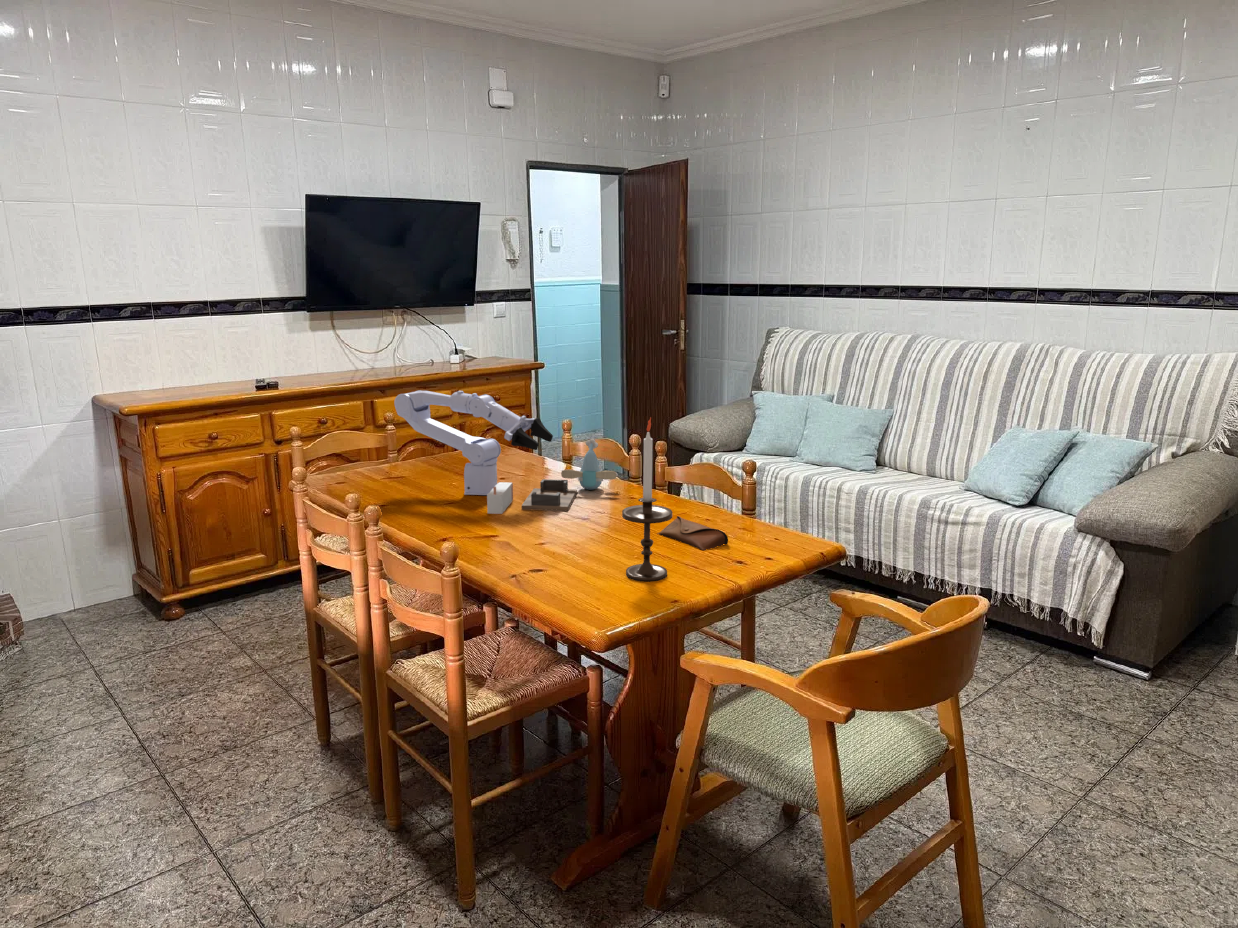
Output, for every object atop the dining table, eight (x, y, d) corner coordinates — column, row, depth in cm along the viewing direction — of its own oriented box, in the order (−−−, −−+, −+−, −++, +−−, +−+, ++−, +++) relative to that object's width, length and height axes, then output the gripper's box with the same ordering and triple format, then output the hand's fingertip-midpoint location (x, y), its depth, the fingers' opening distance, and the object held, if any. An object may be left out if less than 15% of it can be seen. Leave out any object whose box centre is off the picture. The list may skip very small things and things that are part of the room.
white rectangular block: (502, 514, 235) (501, 488, 234) (487, 514, 236) (486, 487, 234) (513, 500, 249) (512, 475, 247) (499, 500, 249) (498, 475, 248)
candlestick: (647, 562, 196) (649, 411, 189) (681, 575, 189) (684, 418, 181) (611, 573, 190) (612, 417, 182) (645, 587, 182) (647, 424, 174)
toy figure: (619, 485, 266) (619, 438, 263) (616, 494, 256) (616, 445, 252) (566, 484, 268) (566, 436, 264) (560, 492, 257) (560, 443, 254)
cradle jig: (567, 510, 238) (567, 496, 237) (521, 509, 239) (521, 494, 238) (576, 493, 257) (576, 479, 256) (534, 492, 258) (533, 478, 257)
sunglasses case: (653, 533, 218) (664, 509, 219) (670, 542, 223) (680, 518, 224) (704, 551, 205) (715, 525, 206) (721, 560, 209) (732, 534, 210)
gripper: (495, 415, 241) (534, 439, 238) (524, 401, 253) (561, 423, 250) (489, 436, 245) (528, 459, 241) (517, 421, 257) (554, 443, 253)
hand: (544, 442), depth 246 cm, fingers open, 7 cm apart
